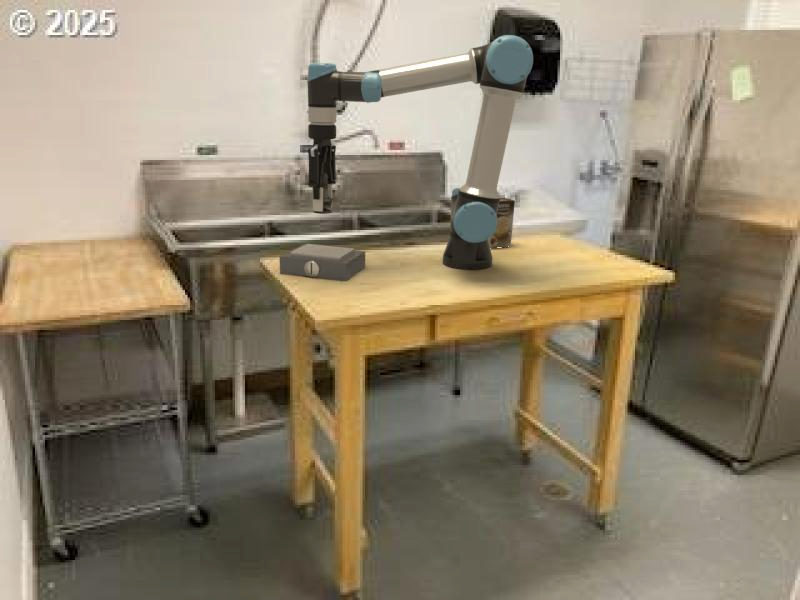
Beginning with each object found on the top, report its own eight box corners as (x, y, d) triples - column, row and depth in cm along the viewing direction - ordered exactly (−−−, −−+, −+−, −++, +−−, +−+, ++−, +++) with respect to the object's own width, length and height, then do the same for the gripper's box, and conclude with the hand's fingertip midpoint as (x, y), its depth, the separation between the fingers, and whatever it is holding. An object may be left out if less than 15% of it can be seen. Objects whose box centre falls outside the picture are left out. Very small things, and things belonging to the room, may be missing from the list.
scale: (365, 267, 197) (365, 248, 195) (345, 281, 183) (345, 260, 181) (303, 260, 202) (302, 241, 201) (278, 274, 188) (278, 253, 186)
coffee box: (488, 249, 223) (492, 201, 218) (478, 245, 228) (481, 198, 223) (511, 247, 227) (515, 200, 222) (500, 243, 232) (504, 197, 227)
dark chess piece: (335, 210, 190) (334, 167, 186) (330, 214, 185) (330, 170, 181) (314, 209, 191) (314, 166, 187) (309, 213, 185) (309, 169, 181)
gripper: (323, 121, 190) (324, 202, 197) (294, 124, 173) (295, 213, 180) (348, 122, 188) (347, 204, 195) (320, 126, 171) (321, 216, 178)
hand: (322, 208), depth 187 cm, fingers closed on dark chess piece, 6 cm apart
